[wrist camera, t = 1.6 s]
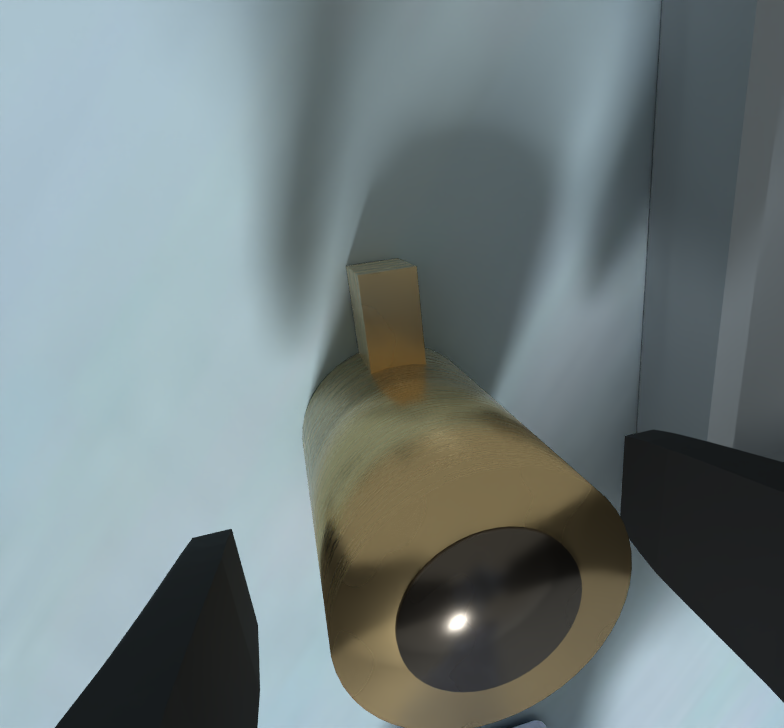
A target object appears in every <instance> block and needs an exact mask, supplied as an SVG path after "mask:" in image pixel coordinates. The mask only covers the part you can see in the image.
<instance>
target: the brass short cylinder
mask: <svg viewBox="0 0 784 728" xmlns="http://www.w3.org/2000/svg"><path fill="white" fill-rule="evenodd" d="M346 269H347V276H348V283H349V290H350V297H351V304H352V311H353V318H354V325H355V331H356V338H357V345H358V352H359V353H358V354H356V355H354V356H352V357H350V358H348V359H347V360H345V361H344V362H343V363H341V364H340V365H338V366H337V367H336V368H335V369H334V370H333V371H332V372H330V373H329V374H328V375H327V376H326V378H325V379H324V380H323V381H322V382H321V384H320V385H319V386H318V388H317V390H316V391H315V393H314V394H313V396H312V398H311V400H310V402H309V405H308V407H307V410H306V414H305V417H304V423H303V436H302V439H303V448H304V455H305V463H306V470H307V478H308V486H309V493H310V501H311V508H312V516H313V523H314V531H315V538H316V546H317V554H318V561H319V569H320V576H321V584H322V591H323V599H324V607H325V614H326V622H327V629H328V637H329V644H330V652H331V658H332V661H333V664H334V668H335V671H336V673H337V675H338V677H339V679H340V681H341V683H342V685H343V687H344V688H345V689H346V691H347V692H348V693H349V694H350V696H351V697H352V698H353V699H354V700H355V701H356V702H357V703H358V704H359V705H360V706H361V707H363V708H364V709H365V710H366V711H368V712H370V713H371V714H373V715H374V716H376V717H378V718H380V719H382V720H384V721H387V722H389V723H391V724H394V725H397V726H401V727H405V728H475V727H480V726H483V725H487V724H490V723H494V722H497V721H500V720H502V719H505V718H507V717H510V716H513V715H515V714H517V713H519V712H521V711H523V710H525V709H527V708H529V707H531V706H533V705H535V704H536V703H538V702H540V701H541V700H543V699H545V698H546V697H548V696H549V695H551V694H552V693H554V692H555V691H556V690H558V689H559V688H560V687H562V686H563V685H564V684H565V683H567V682H568V681H569V680H570V679H571V678H572V677H574V676H575V675H576V674H577V673H578V672H579V671H580V670H581V669H582V668H583V667H584V666H585V665H586V664H587V663H588V662H589V661H590V660H591V658H592V657H593V656H594V655H595V653H596V652H597V651H598V650H599V649H600V647H601V646H602V644H603V643H604V641H605V640H606V638H607V637H608V635H609V634H610V632H611V631H612V629H613V627H614V625H615V623H616V621H617V619H618V618H619V615H620V613H621V610H622V608H623V605H624V603H625V600H626V596H627V593H628V589H629V585H630V577H631V570H632V560H631V548H630V542H629V537H628V534H627V531H626V528H625V525H624V523H623V521H622V519H621V518H620V516H619V514H618V512H617V510H616V509H615V508H614V507H613V505H612V504H611V503H610V502H609V501H608V499H607V498H606V497H605V496H603V495H602V494H601V493H600V492H599V491H598V490H597V489H596V488H594V487H593V486H592V485H591V484H590V483H589V482H588V481H586V480H585V479H584V478H583V477H582V476H581V475H580V474H578V473H577V472H576V471H575V470H574V469H573V468H572V467H570V466H569V465H568V464H567V463H566V462H565V461H564V460H563V459H561V458H560V457H559V456H558V455H557V454H556V453H555V452H553V451H552V450H551V449H550V448H549V447H548V446H547V445H545V444H544V443H543V442H542V441H541V440H540V439H539V438H537V437H536V436H535V435H534V434H533V433H532V432H531V431H530V430H528V429H527V428H526V427H525V426H524V425H523V424H522V423H520V422H519V421H518V420H517V419H516V418H515V417H514V416H512V415H511V414H510V413H509V412H508V411H507V410H506V409H504V408H503V407H502V406H501V405H500V404H499V403H498V402H497V401H495V400H494V399H493V398H492V397H491V396H490V395H489V394H487V393H486V392H485V391H484V390H483V389H482V388H481V387H479V386H478V385H477V384H476V383H475V382H474V381H473V380H471V379H470V378H469V377H468V376H467V375H466V374H465V373H464V372H462V371H461V370H460V369H459V368H458V367H457V366H456V365H454V364H453V363H452V362H451V361H450V360H449V359H447V358H445V357H444V356H442V355H441V354H439V353H437V352H434V351H432V350H430V349H427V348H425V347H424V337H423V327H422V316H421V306H420V296H419V285H418V275H417V266H414V265H412V264H410V263H408V262H405V261H403V260H401V259H398V258H395V259H388V260H382V261H375V262H368V263H361V264H355V265H348V266H346Z"/></svg>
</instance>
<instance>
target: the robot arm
mask: <svg viewBox="0 0 784 728" xmlns="http://www.w3.org/2000/svg"><path fill="white" fill-rule="evenodd" d="M620 518H621V519H622V521H623V523H624V525H625V528H626V531H627V534H628V537H629V539H630V540H631V542H632V543H633V544H634V546H635V547H636V548H637V550H638V551H639V552H640V554H641V555H642V556H643V557H644V558H645V560H646V561H647V562H648V563H649V565H650V566H651V567H652V568H653V570H654V571H655V572H656V573H657V574H658V575H659V576H660V577H661V579H662V580H663V581H664V582H665V583H666V584H667V585H668V586H669V587H670V588H671V589H672V590H673V591H674V592H675V593H676V594H677V595H678V596H679V597H680V598H681V599H682V600H683V601H684V602H685V603H686V604H687V605H688V606H689V607H690V608H691V609H692V610H693V611H694V612H695V613H696V614H697V615H698V616H699V617H700V618H701V619H702V620H703V621H704V622H705V623H706V624H707V625H708V626H709V627H710V628H711V629H712V630H713V631H714V632H715V633H716V634H717V635H718V636H719V637H720V638H721V639H722V640H723V641H724V642H725V643H726V644H727V645H728V646H729V647H730V648H731V649H732V650H733V651H734V652H735V653H736V654H737V655H738V656H739V657H740V658H741V659H742V660H743V661H744V662H745V663H746V664H747V665H748V666H749V667H750V668H751V669H752V670H753V671H754V672H755V673H756V674H757V675H758V676H759V677H760V678H761V679H762V680H763V681H764V682H765V683H766V684H767V685H768V686H769V687H770V688H771V690H772V691H773V692H774V693H775V694H776V695H777V696H778V697H779V698H780V699H781V700H782V701H783V702H784V462H781V461H777V460H774V459H770V458H766V457H763V456H759V455H756V454H752V453H748V452H745V451H741V450H737V449H734V448H730V447H726V446H723V445H719V444H715V443H712V442H708V441H704V440H700V439H696V438H692V437H688V436H684V435H680V434H675V433H671V432H666V431H660V430H654V429H653V430H648V431H644V432H640V433H636V434H631V435H627V436H625V444H624V462H623V480H622V498H621V516H620ZM259 696H260V674H259V643H258V624H257V620H256V616H255V613H254V609H253V605H252V602H251V598H250V594H249V591H248V587H247V583H246V580H245V576H244V572H243V569H242V565H241V561H240V558H239V554H238V550H237V547H236V543H235V539H234V536H233V532H232V529H229V530H225V531H220V532H216V533H212V534H208V535H203V536H199V537H195V538H192V540H191V541H190V542H189V544H188V545H187V546H186V548H185V549H184V551H183V552H182V553H181V555H180V556H179V558H178V559H177V561H176V562H175V564H174V565H173V567H172V568H171V570H170V571H169V572H168V574H167V575H166V577H165V578H164V580H163V581H162V583H161V584H160V586H159V587H158V589H157V590H156V592H155V593H154V595H153V596H152V597H151V599H150V600H149V602H148V603H147V605H146V606H145V608H144V609H143V611H142V612H141V613H140V615H139V616H138V618H137V619H136V620H135V622H134V623H133V625H132V626H131V627H130V629H129V630H128V632H127V633H126V634H125V636H124V637H123V639H122V640H121V641H120V643H119V644H118V646H117V647H116V648H115V650H114V651H113V653H112V654H111V655H110V657H109V658H108V659H107V661H106V662H105V663H104V665H103V666H102V667H101V669H100V670H99V671H98V673H97V674H96V675H95V677H94V678H93V679H92V681H91V682H90V683H89V684H88V686H87V687H86V688H85V690H84V691H83V692H82V693H81V695H80V696H79V697H78V699H77V700H76V701H75V702H74V704H73V705H72V706H71V708H70V709H69V710H68V711H67V713H66V714H65V715H64V717H63V718H62V719H61V720H60V722H59V723H58V724H57V726H56V727H55V728H257V725H258V711H259ZM513 728H546V726H545V724H544V723H543V722H542V721H537V720H535V721H531V722H528V723H525V724H522V725H519V726H516V727H513Z"/></svg>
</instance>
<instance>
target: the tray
mask: <svg viewBox="0 0 784 728" xmlns="http://www.w3.org/2000/svg"><path fill="white" fill-rule="evenodd" d="M653 429H654V430H660V431H666V432H671V433H675V434H680V435H684V436H688V437H692V438H696V439H700V440H704V441H708V442H712V443H715V444H719V445H723V446H726V447H730V448H734V449H737V450H741V451H745V452H748V453H752V454H756V455H759V456H763V457H766V458H770V459H774V460H777V461H781V462H784V0H662V14H661V31H660V48H659V65H658V82H657V99H656V115H655V132H654V149H653V166H652V183H651V200H650V216H649V233H648V250H647V267H646V284H645V301H644V317H643V334H642V351H641V368H640V385H639V402H638V418H637V433H640V432H644V431H648V430H653Z"/></svg>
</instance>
